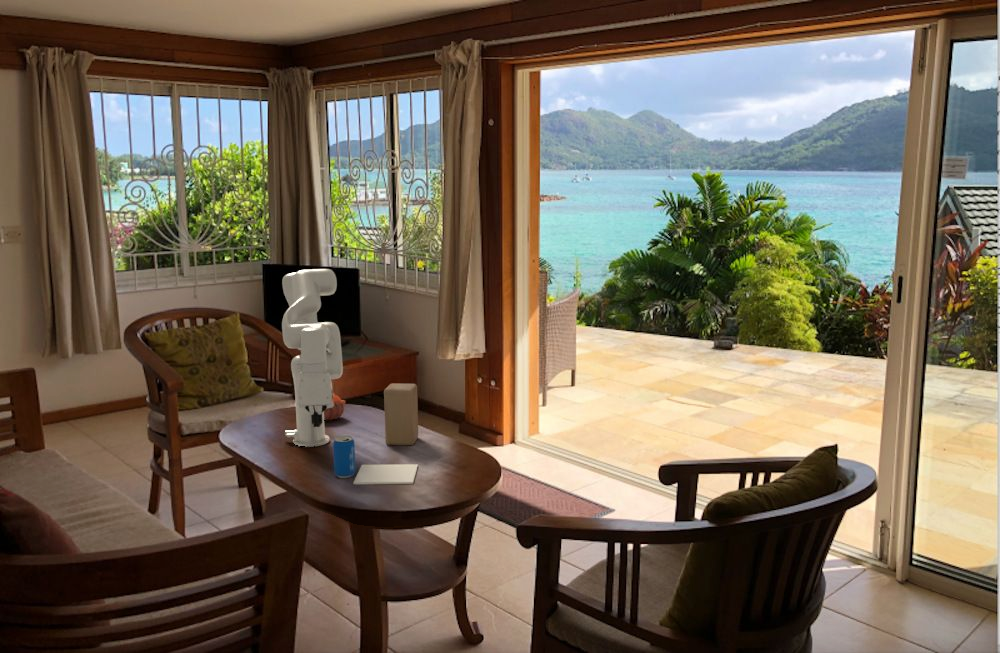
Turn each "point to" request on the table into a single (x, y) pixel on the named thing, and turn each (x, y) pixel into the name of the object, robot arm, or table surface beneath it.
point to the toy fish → (335, 409)
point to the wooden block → (401, 414)
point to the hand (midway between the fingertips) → (317, 426)
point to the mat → (386, 474)
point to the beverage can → (344, 456)
